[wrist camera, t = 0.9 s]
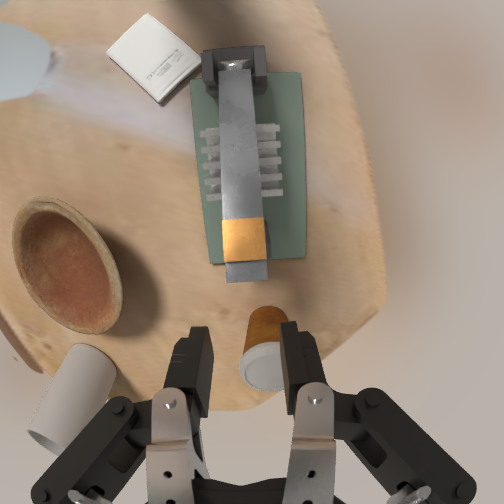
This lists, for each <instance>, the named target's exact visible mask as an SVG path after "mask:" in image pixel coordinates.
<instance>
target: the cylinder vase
mask: <svg viewBox="0 0 504 504" xmlns="http://www.w3.org/2000/svg"><path fill="white" fill-rule="evenodd" d="M116 374H117V373H116V368H115V366H114V364H113V362H112V361H111V360H110V359H109V358H108V357H107V356H106V355H105V354H104V353H103V352H101V351H100V350H98V349H97V348H95V347H93V346H90V345H87V344H75V345H73V346H72V347H71V348H70V350H69V352H68V353H67V355H66V357H65V358H64V360H63V362H62V363H61V365H60V367H59V369H58V370H57V372H56V374H55V376H54V377H53V379H52V381H51V383H50V385H49V387H48V389H47V390H46V392H45V394H44V396H43V398H42V400H41V402H40V404H39V406H38V408H37V410H36V412H35V414H34V416H33V418H32V420H31V422H30V424H29V426H28V428H27V432H28V433H29V435H30V436H31V437H32V438H33V439H34V440H35V441H37V442H38V443H39V444H40V445H42V446H43V447H45V448H46V449H47V450H49V451H51V452H52V453H54V454H56V455H58V456H60V455H61V453H62V452H63V451H64V450H65V449H66V448H67V447H68V445H69V444H70V443H71V442H72V441H73V440H74V439H75V438H76V436H77V435H78V434H79V433H80V432H81V431H82V430H83V429H84V427H85V426H86V425H87V424H88V423H89V422H90V421H91V420H92V418H93V417H94V416H95V415H96V414H97V413H98V412H99V411H100V409H101V408H102V407H103V406H104V405H105V403H106V401H107V398H108V395H109V393H110V390H111V388H112V385H113V383H114V380H115V378H116Z"/></svg>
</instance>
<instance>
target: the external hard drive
mask: <svg viewBox="0 0 504 504" xmlns="http://www.w3.org/2000/svg"><path fill="white" fill-rule="evenodd" d="M106 54H107V55H108V56H109V57H110V58H111V59H113V60H114V61H115V62H116V63H117V64H118V65H119V66H120V67H121V68H122V69H123V70H125V71H126V72H127V73H128V74H129V75H130V76H131V77H132V78H133V79H134V80H135V81H136V82H137V83H138V84H139V85H141V86H142V87H143V88H144V89H145V90H146V91H147V92H148V93H149V94H150V95H151V96H152V97H153V98H154V99H155V100H156V101H157V102H158V103H161V101H162V100H163V99H164V98H165V97H166V96H167V95H168V94H170V93H171V92H172V91H173V90H174V89H175V88H176V87H177V86H178V84H179V83H180V82H181V81H182V80H183V79H185V78H186V77H188V76H189V75H190V74H191V73H192V72H193V71H194V70H196V69H197V68H198V67H199V66H200V65H201V57H200V56H199V55H198V54H197V53H196V52H195V51H193V50H192V49H191V48H190V47H189V46H188V45H187V44H185V43H184V42H183V41H182V40H181V39H180V38H178V37H177V36H176V35H175V34H174V33H172V32H171V31H170V30H169V29H168V28H166V27H165V26H164V25H163V24H161V23H160V22H159V21H157V20H156V19H155V18H154V17H152V16H151V15H150V14H148V13H146V14H145V15H144V16H142V17H141V18H140V19H139V20H138V21H137V22H136V23H135V24H134V25H133V26H131V27H130V28H129V29H128V30H127V31H126V32H125V33H124V34H123V35H122V36H121V37H120V38H119V39H118V40H117V41H116V42H115V43H114V44H113V45H112V46H111V47H110V48H109V50H108V51H107V52H106Z"/></svg>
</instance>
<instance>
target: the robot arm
mask: <svg viewBox="0 0 504 504" xmlns="http://www.w3.org/2000/svg"><path fill="white" fill-rule="evenodd" d="M280 357H281V365H282V373H283V381H284V389H285V396H286V405H287V413H288V415H293V416H294V430H293V437H292V445H291V452H290V459H289V466H288V472H287V477H286V478H274V479H267V480H264V481H260V482H256V483H252V484H248V485H244V486H238V485H233V484H229V483H224V482H221V481H217V480H213V479H210V477H209V473H208V470H207V467H206V463H205V457H204V451H203V444H202V437H201V430H200V427H199V426H200V418H207V417H208V408H209V399H210V389H211V380H212V372H213V363H214V353H213V347H212V343H211V338H210V334H209V329H208V327H207V326H202V327H191V329H190V333H189V337H188V338H180V340H179V341H178V342H177V343H176V344H175V346H174V350H173V353H172V357H171V360H170V361H171V362H170V364H169V368H168V372H167V375H166V379H165V383H164V387H163V389H162V390H160V391H158V392H157V393H156V394H155V395H154V397H153V399H151V400H148V401H143V402H137V403H132V401H131V400H130V399H128V398H126V397H122V396H118V397H114V398H112V399H110V400H109V401H108V402H107V403H106V404H105V405H104V406H103V407H102V408H101V409H100V411H99V412H98V413H97V414H96V415H95V416H94V417H93V418H92V420H91V421H90V422H89V423H88V424H87V425H86V426H85V427H84V429H83V430H82V431H81V432H80V433H79V434H78V435H77V436H76V438H75V439H74V440H73V441H72V442H71V443H70V444H69V445H68V447H67V448H66V449H65V450H64V451H63V452H62V453H61V455H60V456H59V457H58V458H57V459H56V460H55V461H54V463H53V464H52V465H51V466H50V467H49V468H48V469H47V470H46V472H45V473H44V474H43V475H42V476H41V477H40V479H39V480H38V481H37V482H36V483H35V484H34V486H33V487H32V489H31V499H32V501H33V503H34V504H112V501H113V500H114V499H115V498H116V496H117V495H118V494H119V492H120V491H121V490H122V489H123V487H124V486H125V484H126V483H127V482H128V481H129V479H130V478H131V477H132V475H133V474H134V473H135V471H136V470H137V468H138V467H139V466H140V465H141V463H142V462H143V460H144V459H145V458H146V471H147V491H148V502H147V503H145V504H345V503H344V502H343V501H341V500H340V499H339V498H337V497H336V496H335V495H334V483H335V464H336V441H335V440H334V439H340V440H344V441H345V442H346V444H347V445H348V446H349V447H350V449H351V450H352V451H353V452H354V453H355V455H356V456H357V457H358V458H359V459H360V461H361V462H362V463H363V464H364V465H365V466H366V468H367V469H368V470H369V471H370V472H371V474H372V475H373V476H374V477H375V478H376V479H377V481H378V482H379V483H380V484H381V485H382V486H383V487H384V489H385V490H386V491H387V492H388V493H389V494H390V495H391V497H390V498H389V500H388V501H387V504H469V503H470V502H471V501H472V500H473V498H474V496H475V494H476V489H477V487H476V482H475V480H474V479H473V478H472V477H471V476H470V475H469V474H468V473H467V472H466V471H465V470H464V469H463V468H462V467H461V466H460V465H459V464H458V463H457V462H456V461H455V460H454V459H453V458H452V457H450V455H448V454H447V453H446V452H445V451H444V450H443V449H442V448H441V447H440V446H439V445H438V444H437V443H436V442H435V441H434V440H433V439H432V438H431V437H430V436H429V435H428V434H426V432H425V431H424V430H423V429H422V428H421V427H420V426H419V425H418V424H417V423H416V422H415V421H413V420H412V419H411V418H410V417H409V416H408V415H407V414H406V413H405V412H404V411H403V410H402V409H401V408H400V407H399V406H398V405H397V404H396V403H395V402H394V401H393V400H392V399H391V398H390V397H389V396H388V395H387V394H386V393H385V392H384V391H382V390H380V389H377V388H366V389H364V390H362V391H360V392H359V393H358V394H357V395H353V394H343V393H339V392H336V391H335V390H333V389H332V388H330V386H329V385H328V384H327V382H326V379H325V374H324V371H323V367H322V363H321V360H320V356H319V352H318V349H317V345H316V341H315V338H314V337H313V336H312V335H311V334H310V333H309V332H308V331H304V332H298V328H297V324H296V321H292V322H280Z"/></svg>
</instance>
